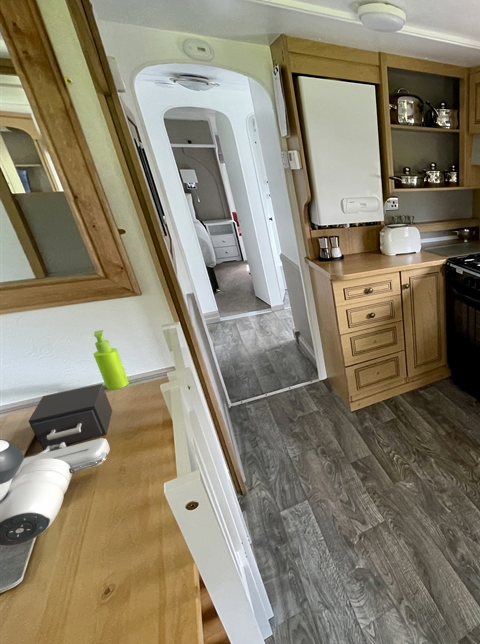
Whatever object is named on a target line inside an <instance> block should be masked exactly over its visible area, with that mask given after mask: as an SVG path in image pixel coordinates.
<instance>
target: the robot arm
mask: <svg viewBox="0 0 480 644" xmlns="http://www.w3.org/2000/svg"><path fill="white" fill-rule="evenodd" d="M110 451H111V448H110V444H109V442H108V440H107V439H106V438H103V437H99V438H96V439H92V440H89V441H85V442H81V443H77V444H74V445H70V446H67V445H65V443H64V442H63V443H59V444H55V445H51V446H47V448H46V450H44V451H43V450H42V451H41V452H39V453H37V454H35V455H31V456H27V457H25V455H24V453H23V452H22V451H21V449H20V448H18V447H17V445H15V444H14V443H12V442H10V441H9V440H7V439H4V438H3V439H2V438H0V547H11V546H18V545H21V544H25V543H27V542H30V541H32V540H34V539H35V538H37V537H38V536H40V535H41V534H43V533H44V532H46V530H47V529H48V528H49V527H50V526H51V525H52V523H53V522H54V521H55V519H56V517H57V516H58V514H59V511H60V510H61V507H62V505H63V502H64V499H65V498H64V495H65V494H66V492H67V490H68V487H69V485H70V482H71V480H72V476H73V474H75V473H78V472H79V473H80V472H82V471H86V470H90V469H92V468H96V467H98V466H100V465H101V464H103V463H104V462H105V461H106V460H107V459H108V455H109V453H110Z"/></svg>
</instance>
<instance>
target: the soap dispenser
mask: <svg viewBox="0 0 480 644" xmlns="http://www.w3.org/2000/svg"><path fill="white" fill-rule="evenodd" d="M103 334H104V329H102V330H96V331H94V334H93V336H94V338H96V340H97V341H96V342H94V345H95V348H96V350H97V351H95V352H93V357H94V359H95V362H96V364H97V367H98V369H99V372H100V374H101V377H102V379H103V380H102V381H103V383H104V385H105V387H106V389H107V390H110V391H111V390H112V391H113V390H118V389H122V388H125V387H126V386H128V385H129V384H130V383H129V379H128V376H127V374H126V373H127V372H126V370H125V368H124V365H123V363H122V360H121V357H120V354H119V352H118V349H117V348H114V347H111V344H110V342H109V340H108V339H107V340H106V339H105V338H104V335H103Z"/></svg>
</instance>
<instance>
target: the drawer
mask: <svg viewBox="0 0 480 644" xmlns="http://www.w3.org/2000/svg"><path fill="white" fill-rule="evenodd" d="M32 427H33V429H34V431H35V433H36V435H37V437H38V439H39V441H40V443H41V445H42V447H43V449H44V450H45V449H46V448H47V446H51V445H55V444H59V443H63V442H64V443H65V444H68V443H71V444H73V443H72V442H75V441H79V440H83V439H87V438H90V439H92V438H91V437H94V436H98V435H102V431H101V428H100V426H99V423H98V421H97V419H96V416H95V414H94V411H93V409H89V410H85V411H81V412H76V413H72V414H68V415H63V416H59V417H55V418H50V419H46V420H42V421H39V422H36V423H33V424H32ZM32 427H31V428H32ZM33 429H32V430H33ZM34 431H33V432H34ZM35 433H34V434H35ZM36 435H35V436H36ZM102 436H103V435H102ZM37 437H36V438H37ZM98 437H99V436H98ZM94 438H95V437H94ZM38 439H37V440H38ZM87 440H88V439H87ZM39 441H38V442H39ZM83 441H84V440H83ZM79 442H80V441H79ZM40 443H39V444H40ZM75 443H76V442H75ZM41 445H40V446H41ZM68 445H69V444H68ZM42 447H41V448H42ZM43 449H42V450H43Z"/></svg>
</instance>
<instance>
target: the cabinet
mask: <svg viewBox="0 0 480 644" xmlns="http://www.w3.org/2000/svg"><path fill="white" fill-rule="evenodd" d="M89 409H93V411H94V414H95V416H96V419H97V421H98V423H99V426H100V428H101V431H102V435H98V436H94V437H91V438H87V439H83V440H79V441H75V442H72V443H68V444H65V445H66V446H67V445H71V444H75V443H78V442H83V441H86V440H90V439H94V438H98V437H102V436H105V435H107V432H108V429H109V425H110V422H111V418H112V417H111V416H112V414H113V409H112V406H111V404H110V401H109V398H108V395H107V393H106V391H105V388H104V386H103V383H100V384H95V385H90V386H86V387H81V388H76V389H72V390H70V389H69V390H66V391H61V392H57V393H51V394H47V395H43V396H42V397H41V399H40V401H39V402H38V404H37V405H36V406H35V409H34V410H33V412H32V414H31V415H30V417H29V419H28V423H29V425H30V427H31V429H32V431H33V433H34V435H35V437H36V439H37V441H38V444H39V445H40V447H41V450H42V451H44V449H43V447H42V445H41V443H40V441H39V439H38V437H37V435H36V433H35V431H34V429H33V427H32V424H33V423H36V422H39V421H42V420H46V419H50V418H55V417H59V416H63V415H68V414H72V413H76V412H81V411H85V410H89ZM45 450H46V449H45Z"/></svg>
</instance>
